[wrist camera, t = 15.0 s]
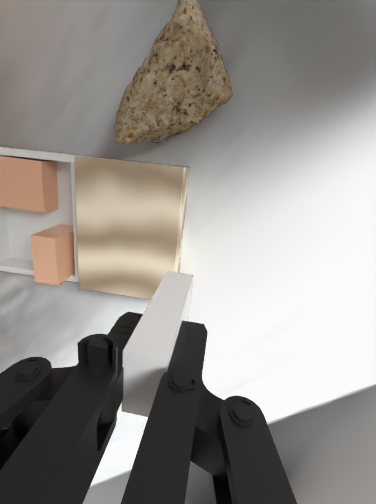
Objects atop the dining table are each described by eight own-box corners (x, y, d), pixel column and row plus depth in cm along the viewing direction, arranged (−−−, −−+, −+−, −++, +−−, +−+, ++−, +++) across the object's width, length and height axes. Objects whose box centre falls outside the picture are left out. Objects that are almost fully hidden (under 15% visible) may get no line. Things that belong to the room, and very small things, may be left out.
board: (95, 156, 34) (74, 155, 29) (189, 167, 33) (183, 167, 28) (96, 273, 39) (79, 288, 35) (177, 285, 38) (171, 302, 34)
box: (-5, 146, 35) (-28, 144, 32) (91, 156, 34) (77, 155, 31) (9, 260, 40) (-10, 269, 37) (93, 272, 39) (81, 282, 36)
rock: (257, 114, 25) (204, -11, 18) (150, 184, 29) (76, 102, 23) (232, 77, 32) (187, -22, 26) (149, 137, 37) (92, 65, 30)
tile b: (80, 226, 37) (59, 223, 37) (55, 238, 31) (30, 235, 31) (82, 267, 39) (62, 264, 39) (57, 285, 33) (34, 282, 33)
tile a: (41, 161, 31) (56, 161, 34) (-7, 155, 32) (12, 155, 35) (44, 212, 33) (58, 208, 36) (-1, 206, 34) (16, 202, 37)
